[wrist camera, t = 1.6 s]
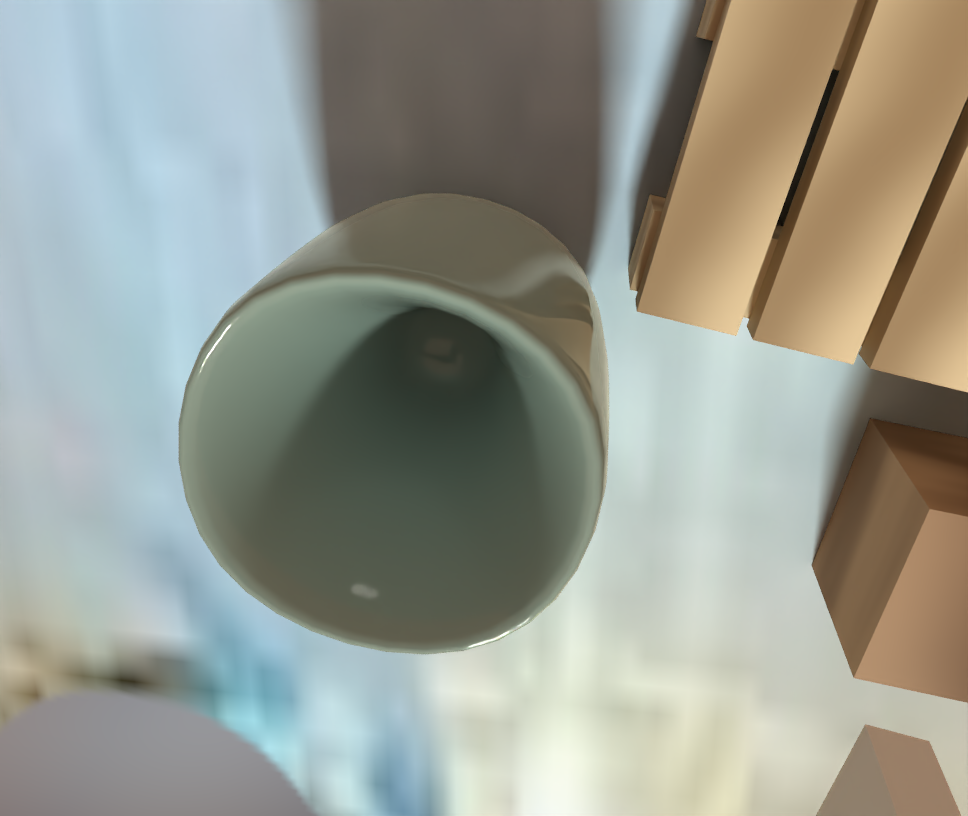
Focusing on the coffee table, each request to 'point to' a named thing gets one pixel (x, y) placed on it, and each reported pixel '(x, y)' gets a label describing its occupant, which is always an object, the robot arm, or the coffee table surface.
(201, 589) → the coffee table surface
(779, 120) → the pallet dock
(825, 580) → the crate
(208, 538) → the cup
